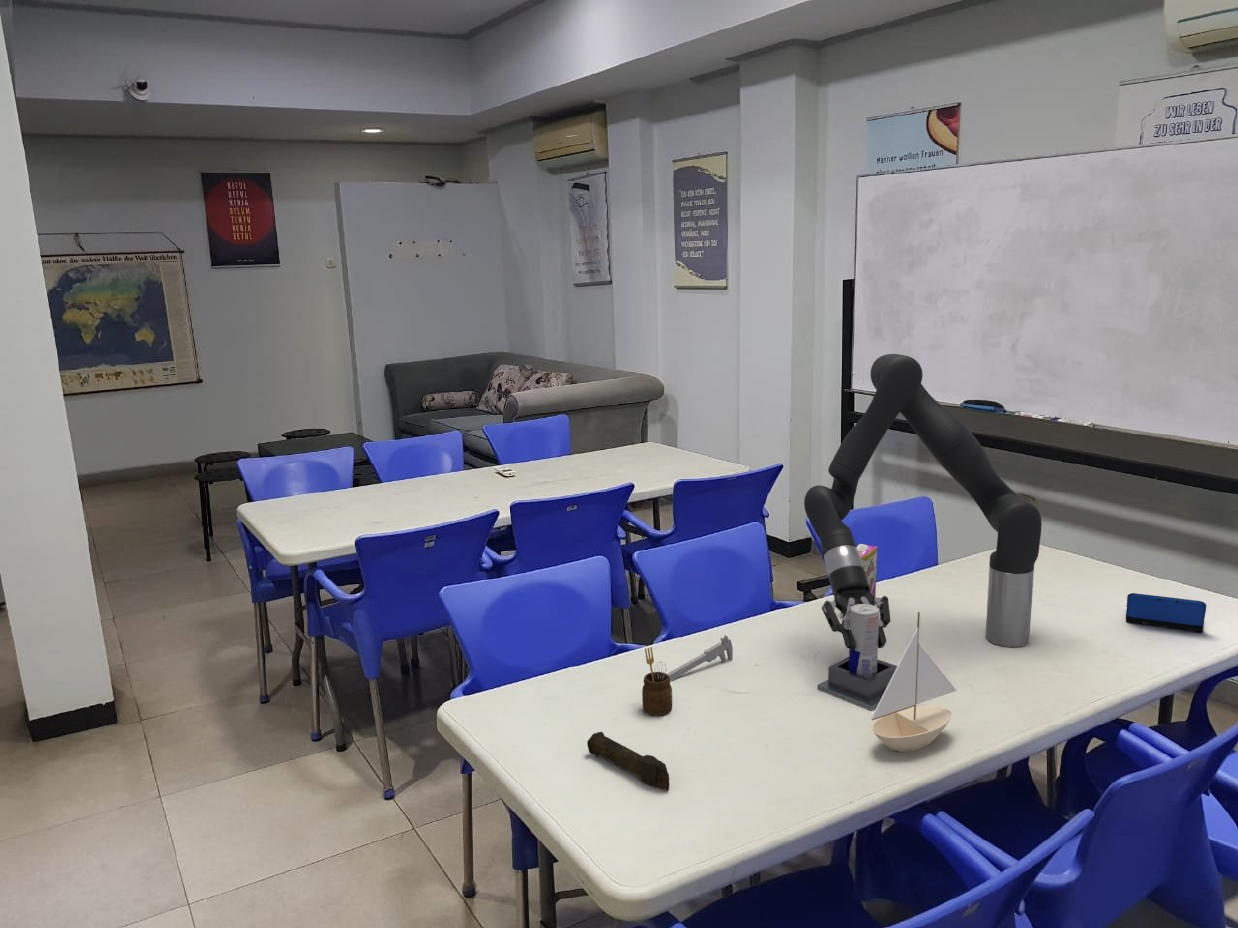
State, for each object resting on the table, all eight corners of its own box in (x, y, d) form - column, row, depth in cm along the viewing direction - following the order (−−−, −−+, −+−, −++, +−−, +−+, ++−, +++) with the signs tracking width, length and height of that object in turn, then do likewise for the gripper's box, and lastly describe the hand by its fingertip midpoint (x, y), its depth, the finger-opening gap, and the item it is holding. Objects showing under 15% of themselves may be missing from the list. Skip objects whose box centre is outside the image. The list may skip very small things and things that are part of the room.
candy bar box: (859, 622, 224) (861, 557, 220) (840, 618, 227) (841, 554, 223) (876, 608, 232) (878, 545, 229) (857, 604, 235) (859, 542, 232)
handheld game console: (1201, 620, 219) (1205, 583, 217) (1203, 641, 208) (1207, 602, 206) (1126, 610, 226) (1129, 574, 225) (1124, 629, 215) (1127, 591, 213)
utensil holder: (652, 719, 180) (650, 662, 177) (636, 706, 185) (635, 650, 183) (678, 712, 182) (677, 655, 180) (662, 699, 188) (661, 644, 185)
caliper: (729, 659, 206) (729, 633, 205) (732, 661, 205) (732, 634, 204) (656, 684, 195) (655, 656, 194) (659, 686, 194) (658, 658, 193)
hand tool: (586, 755, 168) (585, 732, 167) (603, 747, 170) (602, 724, 169) (656, 799, 154) (655, 774, 153) (674, 790, 156) (673, 765, 155)
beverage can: (877, 672, 191) (880, 604, 187) (875, 684, 186) (878, 614, 182) (849, 669, 192) (851, 601, 189) (847, 681, 187) (849, 611, 184)
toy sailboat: (894, 633, 155) (857, 616, 162) (889, 769, 160) (854, 746, 168) (981, 608, 164) (943, 593, 172) (974, 737, 169) (937, 717, 177)
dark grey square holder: (855, 669, 198) (855, 648, 197) (909, 689, 189) (909, 666, 188) (817, 689, 190) (817, 666, 189) (871, 710, 180) (872, 686, 179)
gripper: (817, 566, 190) (838, 644, 181) (884, 561, 192) (907, 637, 184) (808, 582, 197) (828, 658, 188) (872, 577, 199) (895, 651, 190)
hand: (867, 647), depth 186 cm, fingers closed on beverage can, 5 cm apart
